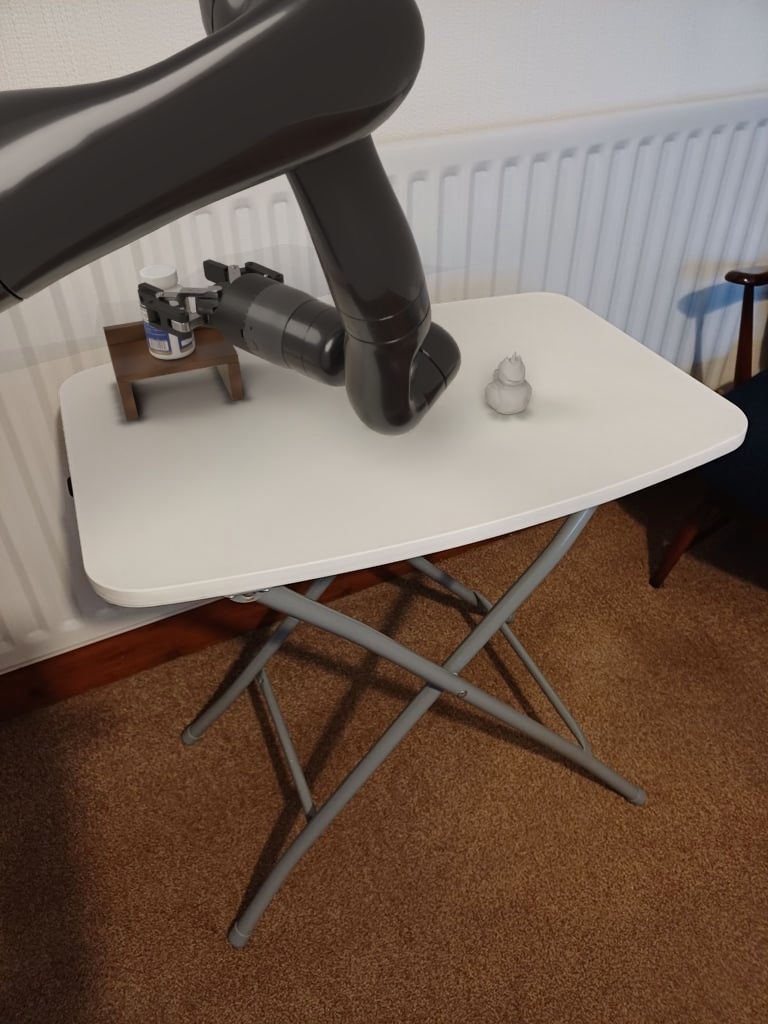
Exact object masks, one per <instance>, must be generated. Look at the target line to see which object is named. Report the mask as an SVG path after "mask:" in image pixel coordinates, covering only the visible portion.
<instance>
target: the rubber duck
mask: <svg viewBox="0 0 768 1024" xmlns="http://www.w3.org/2000/svg"><path fill="white" fill-rule="evenodd" d="M497 367H498V368H496V369H495V370H493V373H492V377H493V378H492V379H493V381H491V382H489V383H487V384H486V385H485V388H484V400H486V402H487V404H488V405H489V406H490V407H491V408H492V409H494V410H495V411H496V412H497V413H499V414H502V415H514V414H515V415H516V414H519V413H521V412H523V411H524V410H526V408H527V406H528V403H529V402H530V401H531V398H532V392H533V389H532V386H531V384H530V383H529V382H528V380H526V379H525V378H526V365H525V364H524V362H523V360H522V357H521V355H520V354H518V355H517V351H516V350H514V352H513V354H512V355H511V358H509V356H506V357H505V358H503V359H502V360H501V361H500V362H499V364H498V366H497Z"/></svg>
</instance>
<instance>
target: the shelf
mask: <svg viewBox="0 0 768 1024" xmlns="http://www.w3.org/2000/svg"><path fill="white" fill-rule="evenodd" d="M192 313H193V314H194V313H197V312H196V311H194V312H192ZM102 329H103V333H104V336H105V341H106V346H107V349H108V353H109V354H108V355H109V357H110V362H111V365H112V370H113V373H114V378H115V382H116V385H117V389H118V393H119V397H120V402H121V405H122V409H123V413H124V416H125V421H126V422H131V421H137V420H139V419H140V418H139V414H138V410H137V406H136V400H135V396H134V392H133V388H132V384H131V382H134V381H135V382H136V381H140V380H147V379H151V378H152V379H153V378H157V377H162V376H168V375H173V374H180V373H185V372H191V371H195V370H202V369H207V368H212V367H216V369H217V371H218V373H219V375H220V377H221V380H222V381H223V383H224V386H225V388H226V390H227V392H228V394H229V396H230V398H231V400H232V401H239V400H244V399H245V397H244V389H243V382H242V381H243V380H242V374H241V366H240V360H239V353H238V352H237V350H236V347H235V346H234V345H232V344H230V343H229V342H228V341H227V340H226V339H225V338H224V337H223V336H222V334H221V333H220V332H219V331H218V330H217V329H215V328H210V327H204V326H202V325H200V326H198V327H195V328H193V333H194V339H195V349H194V351H193V352H192V353H191V354H189V355H187V356H185V357H182V358H178V359H168V360H166V359H159V358H156V357H154V356H153V355H152V354H151V353H150V350H149V346H148V342H147V337H146V332H145V328H144V323H143V320H138V321H133V322H132V321H131V322H125V323H120V324H113V325H107V326H103V327H102Z"/></svg>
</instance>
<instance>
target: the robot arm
mask: <svg viewBox="0 0 768 1024" xmlns="http://www.w3.org/2000/svg"><path fill="white" fill-rule="evenodd" d="M198 5H199V10H200V16H201V22H202V25H203V29H204V32H205V35H206V37H203V38H201V40H200V39H199V40H198V41H196V42H194V43H192V44H190V45H189V46H187V47H185V48H183V49H182V50H179V51H178V52H176V53H174V54H172V55H170V56H168V57H166V58H164V59H163V60H161V61H159V62H156V63H154V64H152V65H149V66H147V67H145V68H141V69H140V70H137V71H133V72H131V73H128V74H125V75H122V76H118V77H114V78H110V79H105V80H100V81H96V82H89V83H81V84H80V83H79V84H73V85H64V86H49V87H34V88H33V87H32V88H21V89H9V90H8V89H7V90H0V314H2V313H4V312H6V311H7V310H9V309H11V308H13V307H15V306H17V305H19V304H21V303H22V302H24V301H25V300H28V299H30V298H31V297H33V296H35V295H37V294H38V293H40V292H42V291H44V290H45V289H47V288H48V287H50V286H52V285H54V284H55V283H56V282H58V281H60V280H62V279H64V278H65V277H67V276H69V275H71V274H72V273H74V272H76V271H78V270H81V269H82V268H83V267H86V266H88V265H90V264H91V263H93V262H96V261H99V260H100V259H101V258H104V257H105V256H107V255H109V254H111V253H114V252H116V251H118V250H119V249H122V248H125V247H126V246H128V245H130V244H132V243H133V242H136V241H138V240H140V239H142V238H144V237H145V236H147V235H150V234H152V233H154V232H155V231H157V230H160V229H161V228H164V227H165V226H168V225H169V224H171V223H173V222H175V221H177V220H179V219H182V218H183V217H185V216H187V215H189V214H192V213H193V212H196V211H199V210H200V209H202V208H205V207H207V206H210V205H211V204H213V203H216V202H219V201H221V200H223V199H226V198H228V197H231V196H233V195H236V194H238V193H241V192H243V191H245V190H248V189H250V188H254V187H256V186H259V185H261V184H264V183H267V182H269V181H271V180H274V179H276V178H278V177H281V176H283V175H285V177H286V180H287V182H288V184H289V186H290V188H291V190H292V193H293V195H294V198H295V200H296V203H297V205H298V208H299V210H300V213H301V215H302V218H303V220H304V223H305V226H306V230H307V231H308V234H309V236H310V239H311V243H312V245H313V247H314V251H315V253H316V256H317V259H318V262H319V264H320V267H321V270H322V273H323V275H324V279H325V282H326V284H327V287H328V290H329V292H330V296H331V298H332V300H333V304H334V305H333V304H330V303H327V302H325V301H323V300H320V299H318V298H317V297H315V296H313V295H312V294H309V293H308V292H306V291H304V290H301V289H298V288H296V287H294V286H291V285H288V284H285V277H284V276H285V275H284V274H283V273H281V272H278V271H276V270H274V269H271V268H269V267H267V266H266V265H265V266H264V265H262V264H259V263H258V262H255V261H246V262H244V266H243V267H240V265H238V264H231V265H226V264H224V263H222V262H219V261H216V260H213V259H210V258H208V259H205V260H203V261H202V267H203V273H204V277H205V279H206V280H207V281H209V282H210V283H213V284H212V285H208V286H206V287H187V286H186V287H184V286H183V288H181V289H180V291H179V292H164V290H162V289H159V288H157V287H155V286H153V285H150V284H148V283H146V282H144V283H141V282H140V283H139V284H137V295H138V296H139V299H138V301H139V300H140V303H141V305H144V306H145V307H146V311H147V316H148V322H149V325H150V326H152V327H155V328H157V329H159V330H162V331H164V332H167V333H169V334H172V335H174V336H176V337H179V338H181V339H190V338H192V329H193V328H195V327H198V326H200V325H202V326H204V327H210V328H215V329H217V330H218V331H219V332H220V333H221V334H222V336H223V337H224V338H225V339H226V340H227V341H228V342H229V343H230V344H232V345H233V346H234V347H235V348H238V349H240V350H243V351H244V352H246V353H250V355H253V356H255V357H257V358H260V359H261V360H264V361H266V362H268V363H270V364H273V365H275V366H278V367H280V368H284V369H288V370H290V371H291V370H292V371H295V372H296V373H299V374H300V375H303V376H305V377H307V378H309V379H311V380H314V381H316V382H318V383H321V384H323V385H325V386H328V387H331V388H332V387H333V388H340V387H344V388H345V391H346V396H347V399H348V402H349V405H350V406H351V408H352V410H353V411H354V413H355V416H357V418H358V419H359V420H360V422H362V424H364V426H366V427H367V428H368V429H369V430H371V431H373V432H375V433H377V434H379V435H383V436H387V437H399V436H403V435H407V434H409V433H410V432H412V431H413V430H414V429H415V428H417V426H419V424H421V422H422V421H423V420H424V419H425V417H426V416H427V414H428V413H429V412H430V411H431V409H432V408H433V407H434V405H435V404H436V403H437V401H438V400H439V399H440V398H441V396H442V395H443V394H444V392H445V391H446V390H447V389H448V388H449V386H450V385H451V384H452V383H453V381H454V380H455V379H456V377H457V375H458V373H459V371H460V369H461V366H462V365H461V364H462V354H461V350H460V347H459V345H458V343H457V341H456V339H455V338H454V336H452V334H451V333H450V332H448V330H446V329H445V328H444V327H443V326H441V325H440V324H438V323H437V322H435V321H432V306H431V305H432V304H431V300H430V294H429V290H428V285H427V281H426V276H425V271H424V266H423V262H422V259H421V255H420V251H419V248H418V245H417V242H416V239H415V236H414V233H413V231H412V228H411V225H410V223H409V221H408V218H407V216H406V214H405V212H404V209H403V207H402V205H401V203H400V201H399V199H398V196H397V193H396V192H395V190H394V187H393V185H392V183H391V180H390V178H389V176H388V174H387V171H386V169H385V167H384V165H383V162H382V161H381V158H380V156H379V152H378V150H377V147H376V146H375V145H376V144H375V142H374V139H373V136H372V133H374V132H375V131H376V130H377V129H378V128H380V127H381V126H382V125H383V124H384V123H386V122H387V121H388V120H389V119H390V118H391V117H392V115H394V113H396V111H398V109H399V107H400V106H401V105H402V104H403V102H404V101H405V100H406V99H407V97H408V95H409V94H410V93H411V91H412V88H413V87H414V85H415V83H416V80H417V78H418V75H419V74H420V71H421V68H422V63H423V60H424V59H423V58H424V53H425V49H426V48H425V46H426V32H425V25H424V21H423V17H422V14H421V10H420V8H419V6H418V4H417V1H416V0H198ZM138 296H137V297H138ZM189 298H194V303H195V304H194V305H195V312H197V313H194V312H192V310H191V304H190V299H189ZM169 301H177V302H178V304H179V308H177V307H174V306H171V305H170V302H169ZM193 313H194V314H193Z"/></svg>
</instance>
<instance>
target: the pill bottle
mask: <svg viewBox="0 0 768 1024" xmlns="http://www.w3.org/2000/svg"><path fill="white" fill-rule="evenodd" d="M139 278H140V284H141V283H144V282H146V283H148V284H150V285H153V286H155V287H157V288H159V289H162V290H164V292H179V291H180V289H181V288H183V287H184V286H183V285H181V284H180V283H178V282H179V276H178V271H177V268H176V267H175V266H174V265H172V264H167V263H156V264H150V265H147V266H145V267H143V268H142V269H141V270H140V271H139ZM137 298H138V304H139V309H140V314H141V318H142V319H141V320H142V321H143V323H144V328H145V332H146V337H147V342H148V346H149V350H150V353H151V354H152V355H153V356H154V357H156V358H159V359H166V360H168V359H178V358H182V357H185V356H187V355H189V354H191V353H192V352H193V351H194V349H195V339H194V333H193V329H192V338H190V339H181V338H179V337H176V336H174V335H172V334H169V333H167V332H164V331H162V330H159V329H157V328H155V327H152V326H150V325H149V322H148V316H147V311H146V307H145V306H144V305H141V303H140V300H139V296H137ZM169 302H170V305H171V306H174V307H177V308H179V304H178V302H177V301H169Z"/></svg>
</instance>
